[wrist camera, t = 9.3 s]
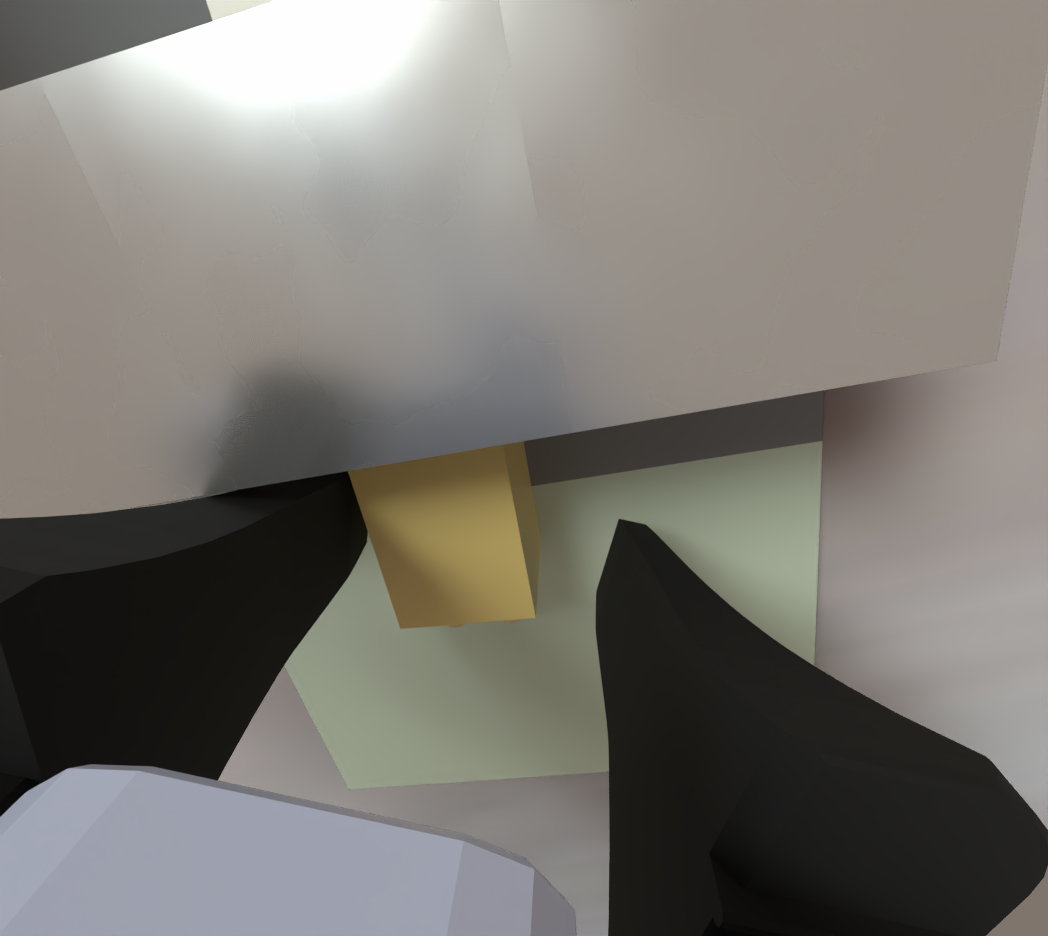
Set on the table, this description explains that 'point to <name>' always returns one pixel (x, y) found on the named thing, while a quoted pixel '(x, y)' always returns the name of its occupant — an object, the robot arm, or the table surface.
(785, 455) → the mat
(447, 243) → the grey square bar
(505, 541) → the plug
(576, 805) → the table surface
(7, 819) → the robot arm
